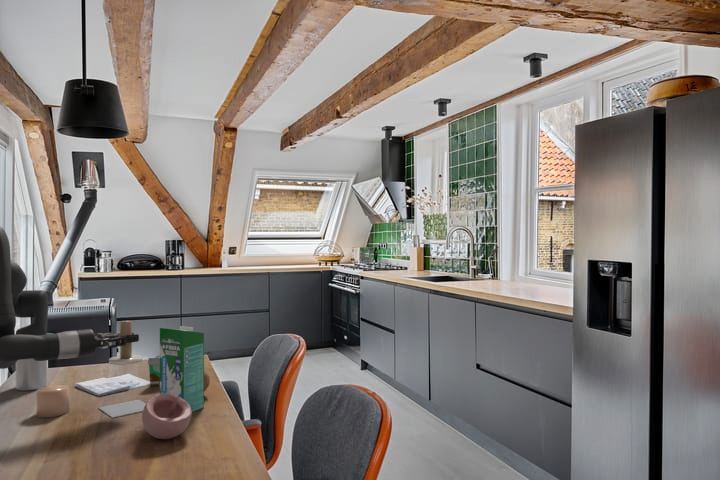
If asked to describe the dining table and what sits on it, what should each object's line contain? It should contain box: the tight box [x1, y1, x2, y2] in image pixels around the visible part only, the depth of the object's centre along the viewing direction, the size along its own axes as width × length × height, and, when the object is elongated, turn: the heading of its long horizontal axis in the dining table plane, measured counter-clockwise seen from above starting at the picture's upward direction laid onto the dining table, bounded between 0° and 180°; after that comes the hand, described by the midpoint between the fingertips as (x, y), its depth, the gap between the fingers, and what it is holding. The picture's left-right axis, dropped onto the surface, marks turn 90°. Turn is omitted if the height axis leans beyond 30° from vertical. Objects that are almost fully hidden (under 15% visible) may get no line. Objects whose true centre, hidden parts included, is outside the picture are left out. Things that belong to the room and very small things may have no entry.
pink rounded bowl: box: [141, 393, 193, 440], centre depth 140 cm, size 12×12×12 cm
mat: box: [98, 399, 147, 419], centre depth 163 cm, size 12×12×1 cm
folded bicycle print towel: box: [74, 372, 150, 397], centre depth 189 cm, size 19×20×2 cm
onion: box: [204, 370, 211, 392], centre depth 176 cm, size 10×9×10 cm
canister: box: [35, 384, 70, 418], centre depth 159 cm, size 8×8×7 cm
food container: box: [147, 355, 160, 387], centre depth 192 cm, size 12×6×10 cm, turn 168°
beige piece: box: [108, 320, 143, 366], centre depth 163 cm, size 9×9×12 cm
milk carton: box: [159, 325, 205, 413], centre depth 162 cm, size 9×9×25 cm
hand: (135, 336), depth 165 cm, fingers closed on beige piece, 3 cm apart
